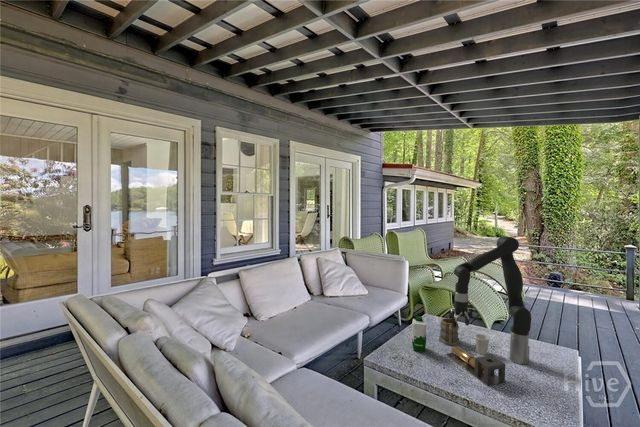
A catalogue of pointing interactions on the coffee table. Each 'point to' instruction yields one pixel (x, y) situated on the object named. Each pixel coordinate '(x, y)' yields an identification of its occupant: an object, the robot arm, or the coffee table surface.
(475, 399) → the coffee table surface
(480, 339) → the dixie cup
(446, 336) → the tankard
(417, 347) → the milk carton
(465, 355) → the tube
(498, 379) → the dark grey holder
